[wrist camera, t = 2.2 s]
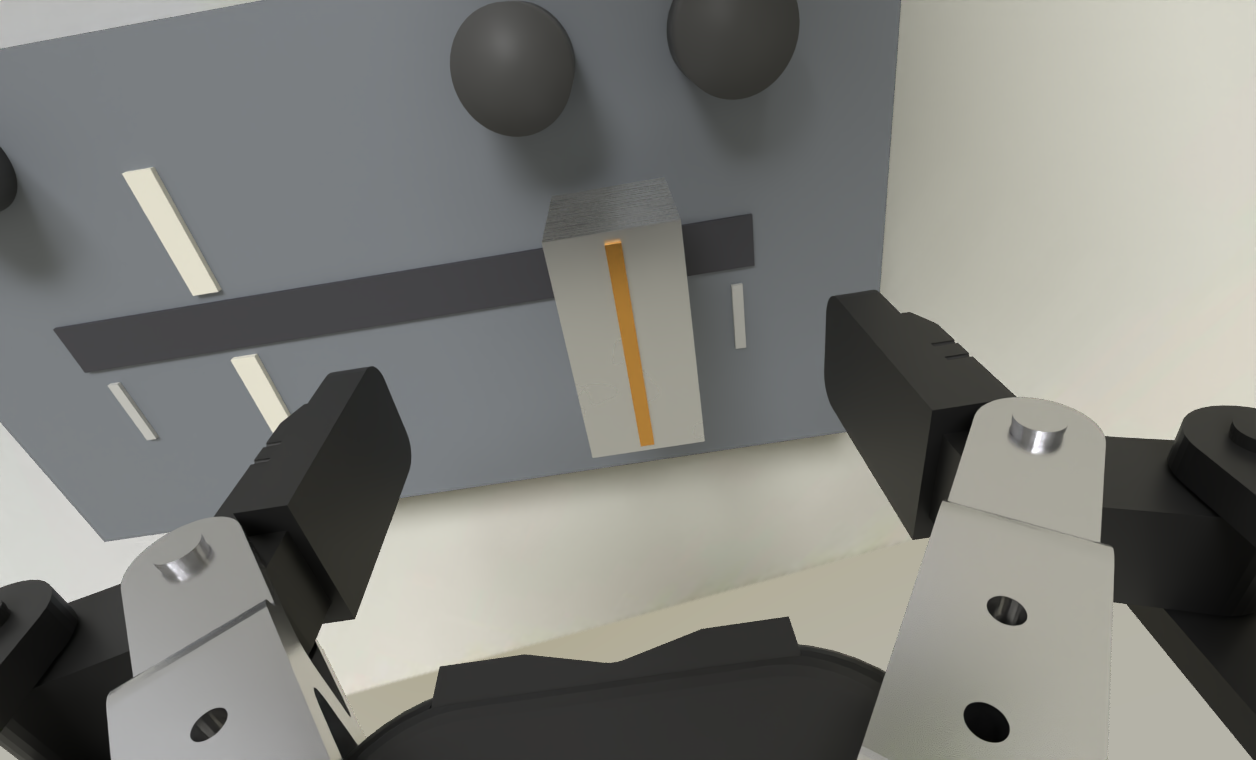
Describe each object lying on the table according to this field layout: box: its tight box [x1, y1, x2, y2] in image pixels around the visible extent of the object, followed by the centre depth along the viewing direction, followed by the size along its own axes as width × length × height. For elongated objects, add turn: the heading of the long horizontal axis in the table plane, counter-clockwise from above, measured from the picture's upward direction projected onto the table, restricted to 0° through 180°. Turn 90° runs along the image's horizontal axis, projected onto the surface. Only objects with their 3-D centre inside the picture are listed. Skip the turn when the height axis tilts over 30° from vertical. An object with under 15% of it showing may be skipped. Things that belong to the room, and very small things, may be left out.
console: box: [0, 0, 901, 542], centre depth 17 cm, size 26×14×4 cm, turn 99°
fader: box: [542, 177, 705, 458], centre depth 14 cm, size 2×5×5 cm, turn 9°
